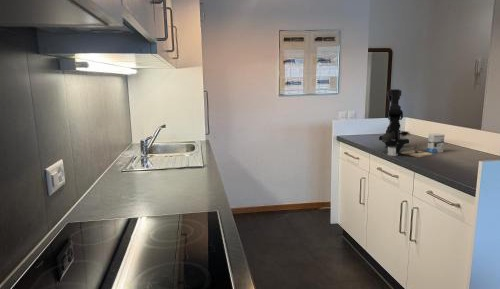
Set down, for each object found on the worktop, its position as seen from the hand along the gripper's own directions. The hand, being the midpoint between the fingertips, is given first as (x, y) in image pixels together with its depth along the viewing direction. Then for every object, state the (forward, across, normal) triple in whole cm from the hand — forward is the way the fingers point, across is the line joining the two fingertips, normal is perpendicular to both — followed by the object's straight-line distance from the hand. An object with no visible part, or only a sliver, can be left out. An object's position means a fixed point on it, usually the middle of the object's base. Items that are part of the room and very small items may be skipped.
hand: (392, 153), depth 224 cm
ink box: (+1, +9, +28) cm, 29 cm away
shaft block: (+1, +7, +13) cm, 15 cm away
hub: (+1, 0, 0) cm, 1 cm away
